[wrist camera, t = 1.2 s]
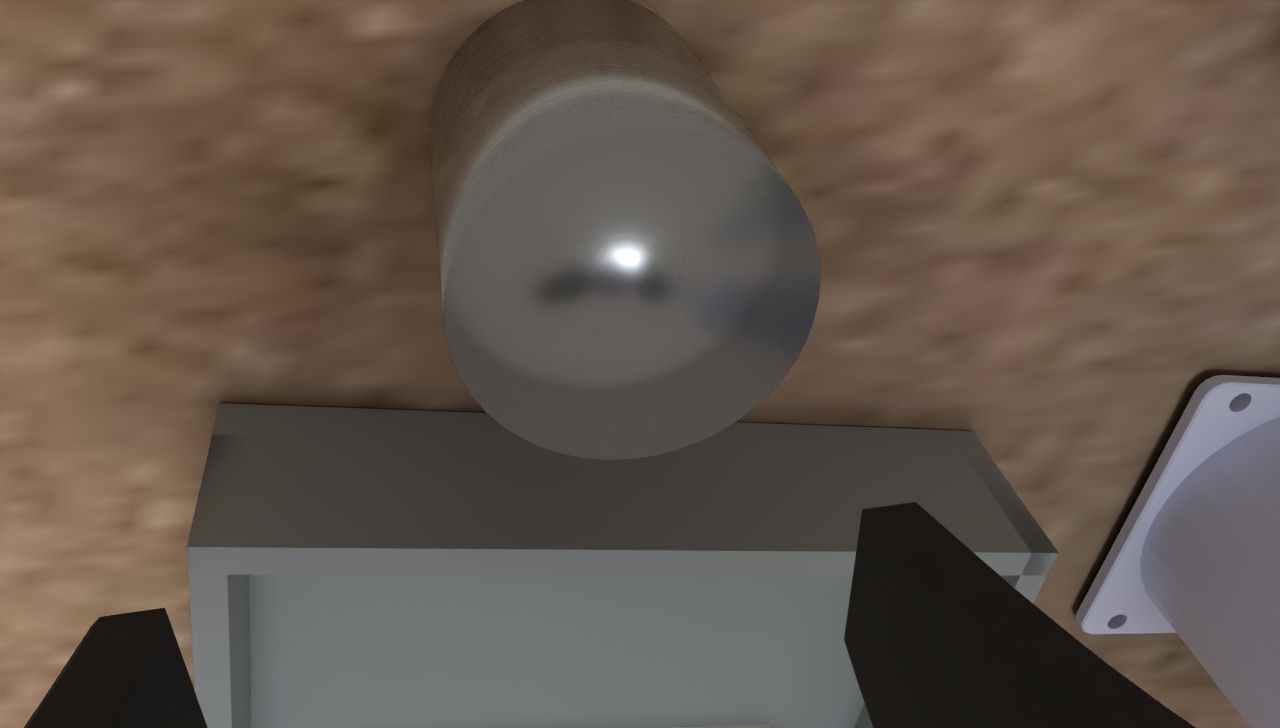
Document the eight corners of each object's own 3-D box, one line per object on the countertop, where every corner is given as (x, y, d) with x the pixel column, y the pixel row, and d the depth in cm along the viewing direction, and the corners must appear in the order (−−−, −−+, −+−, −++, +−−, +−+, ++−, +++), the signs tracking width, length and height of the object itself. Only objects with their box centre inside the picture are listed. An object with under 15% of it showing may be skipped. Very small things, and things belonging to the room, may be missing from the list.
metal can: (740, 10, 19) (865, 147, 14) (683, 271, 21) (771, 463, 16) (441, -29, 17) (461, 106, 13) (419, 252, 20) (428, 455, 15)
